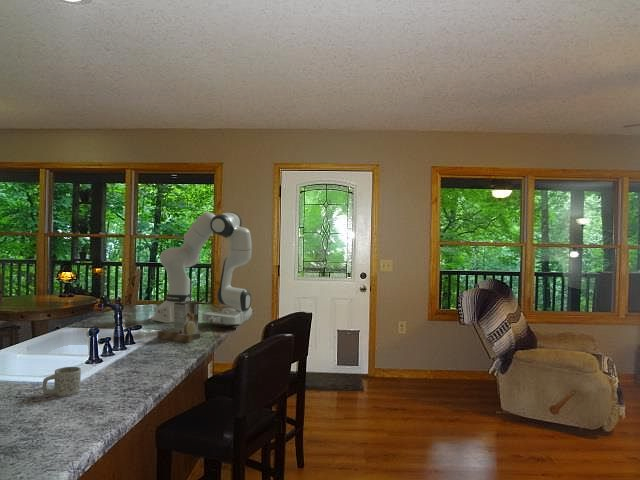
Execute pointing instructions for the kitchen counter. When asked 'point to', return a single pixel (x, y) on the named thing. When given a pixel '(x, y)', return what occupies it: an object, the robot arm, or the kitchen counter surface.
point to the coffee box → (186, 317)
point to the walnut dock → (177, 336)
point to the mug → (64, 382)
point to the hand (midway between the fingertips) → (211, 320)
